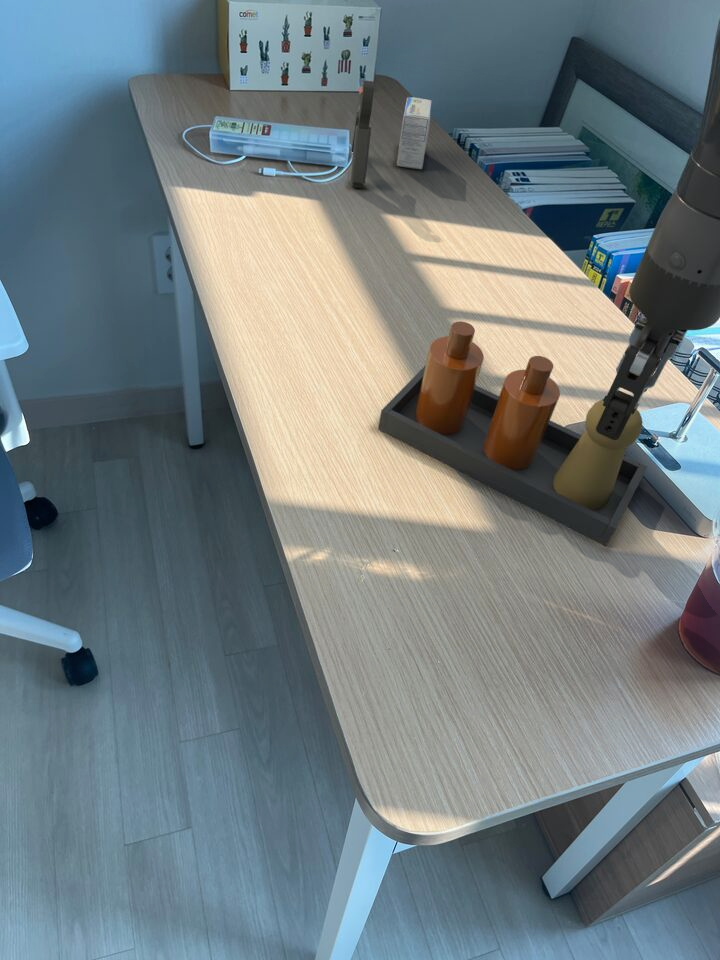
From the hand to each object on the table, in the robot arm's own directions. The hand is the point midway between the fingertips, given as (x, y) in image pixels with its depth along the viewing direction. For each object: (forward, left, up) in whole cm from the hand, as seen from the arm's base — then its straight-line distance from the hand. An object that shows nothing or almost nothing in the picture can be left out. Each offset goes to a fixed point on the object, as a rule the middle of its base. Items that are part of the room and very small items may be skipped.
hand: (621, 410), depth 71 cm
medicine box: (+53, -57, -12) cm, 78 cm away
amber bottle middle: (+9, 0, -11) cm, 14 cm away
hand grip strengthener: (+57, -46, -12) cm, 74 cm away
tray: (+9, 0, -12) cm, 15 cm away
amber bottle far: (+17, 0, -11) cm, 20 cm away
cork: (0, 0, -11) cm, 11 cm away
